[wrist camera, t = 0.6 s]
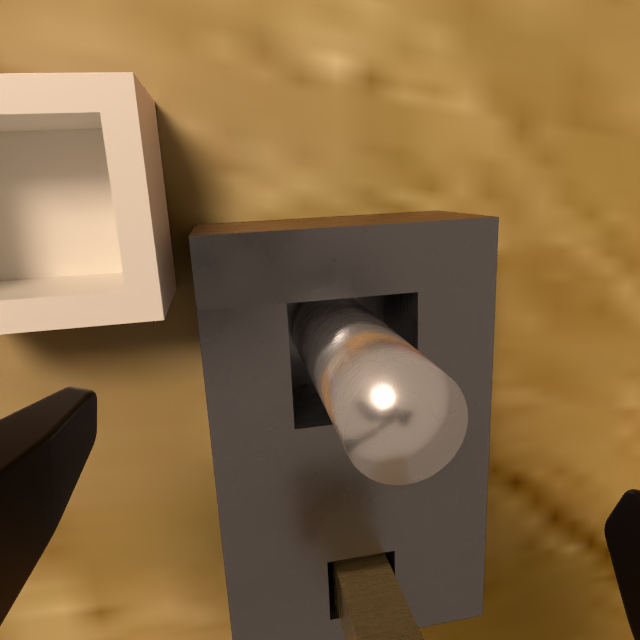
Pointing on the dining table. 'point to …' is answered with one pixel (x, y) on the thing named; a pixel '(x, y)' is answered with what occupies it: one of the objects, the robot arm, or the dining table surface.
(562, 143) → the dining table surface
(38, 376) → the dining table surface
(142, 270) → the white open box
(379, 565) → the plug block
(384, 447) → the silver metal cylinder
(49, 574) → the dining table surface
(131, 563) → the dining table surface
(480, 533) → the socket block
